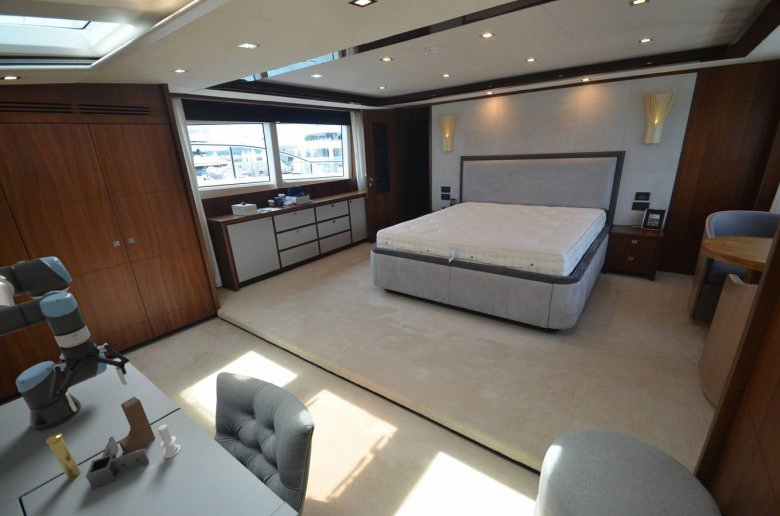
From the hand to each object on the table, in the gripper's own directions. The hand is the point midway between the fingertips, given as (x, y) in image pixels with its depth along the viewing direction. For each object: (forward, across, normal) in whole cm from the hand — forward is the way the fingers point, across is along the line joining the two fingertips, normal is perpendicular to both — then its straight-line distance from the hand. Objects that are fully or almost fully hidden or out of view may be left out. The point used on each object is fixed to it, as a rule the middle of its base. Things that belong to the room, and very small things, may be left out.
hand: (100, 395), depth 111 cm
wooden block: (+26, +4, 0) cm, 26 cm away
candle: (+26, +9, -14) cm, 31 cm away
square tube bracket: (+26, -1, -4) cm, 26 cm away
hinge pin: (+26, -13, +6) cm, 29 cm away
